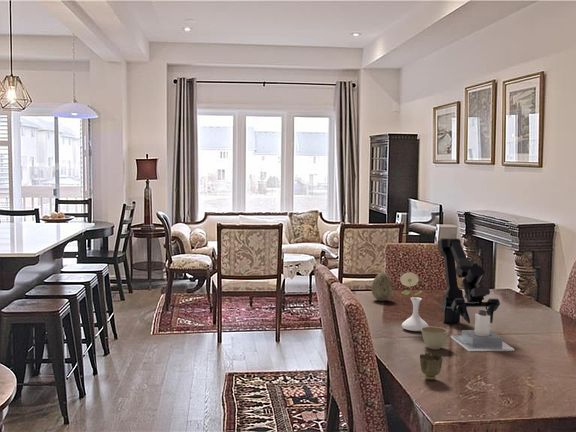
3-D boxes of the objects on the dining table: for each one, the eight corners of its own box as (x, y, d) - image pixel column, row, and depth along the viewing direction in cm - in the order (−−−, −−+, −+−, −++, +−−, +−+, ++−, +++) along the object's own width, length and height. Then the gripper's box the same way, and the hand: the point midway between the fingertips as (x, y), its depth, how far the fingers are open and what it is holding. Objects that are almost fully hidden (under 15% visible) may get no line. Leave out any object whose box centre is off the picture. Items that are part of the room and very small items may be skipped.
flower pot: (448, 345, 249) (448, 327, 249) (445, 352, 240) (446, 334, 239) (422, 343, 252) (423, 325, 252) (419, 349, 243) (419, 331, 242)
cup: (416, 375, 213) (417, 352, 212) (437, 375, 213) (438, 352, 213) (422, 383, 205) (423, 359, 205) (444, 383, 206) (445, 359, 205)
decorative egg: (393, 303, 325) (394, 274, 323) (372, 302, 325) (373, 274, 324) (390, 298, 335) (391, 270, 334) (370, 298, 335) (370, 270, 334)
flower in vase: (431, 328, 275) (433, 271, 273) (425, 334, 265) (427, 275, 263) (401, 324, 281) (403, 269, 279) (394, 330, 270) (396, 273, 268)
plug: (473, 340, 255) (475, 309, 254) (484, 340, 255) (485, 309, 254) (478, 343, 250) (479, 312, 249) (489, 343, 251) (490, 312, 250)
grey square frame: (450, 337, 262) (451, 327, 262) (492, 336, 264) (493, 327, 263) (468, 351, 242) (469, 341, 242) (514, 350, 244) (514, 340, 243)
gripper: (455, 279, 257) (463, 312, 247) (499, 279, 258) (509, 312, 248) (447, 294, 265) (455, 326, 255) (490, 294, 267) (500, 326, 257)
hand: (480, 322), depth 254 cm, fingers open, 9 cm apart
